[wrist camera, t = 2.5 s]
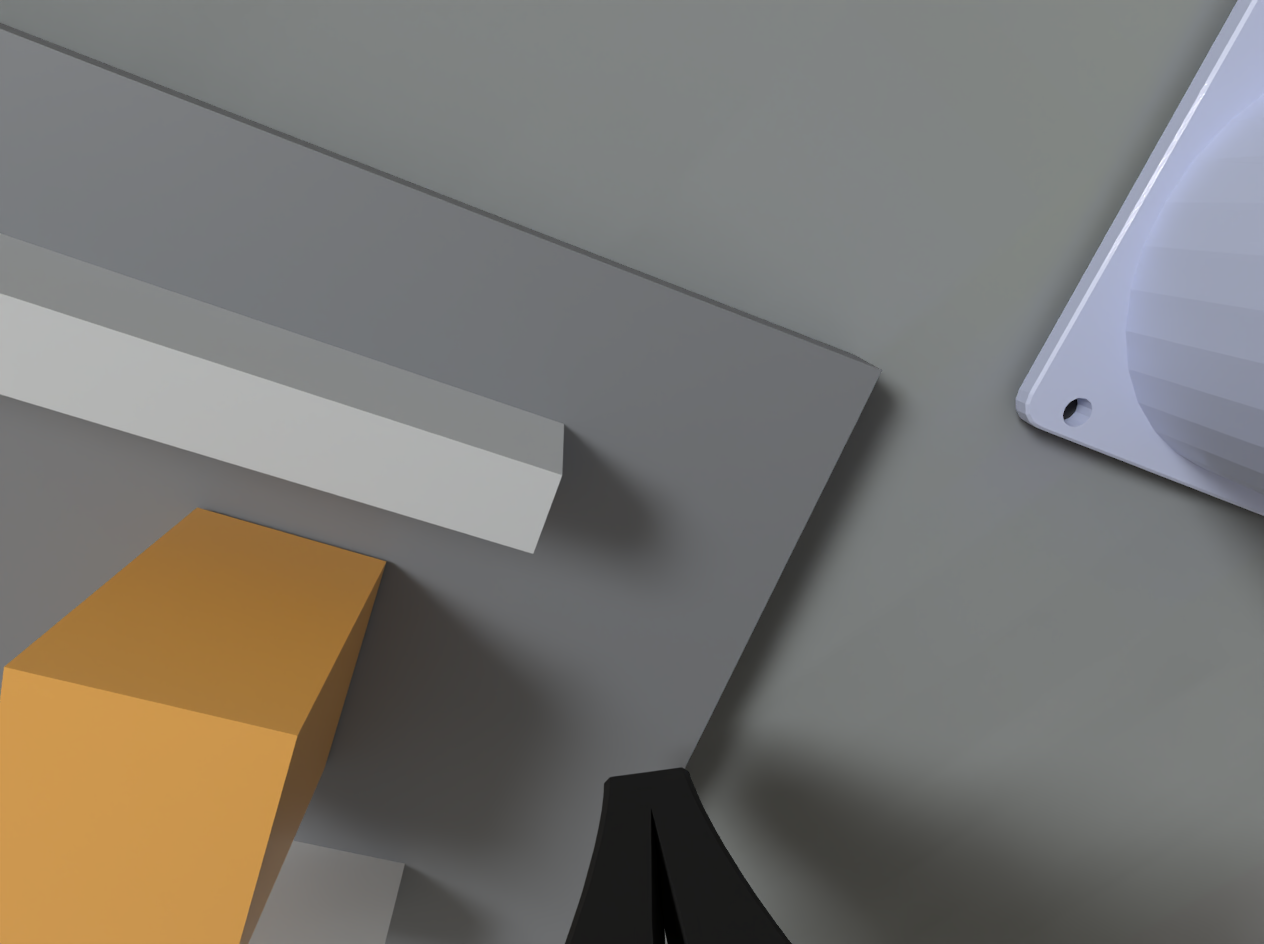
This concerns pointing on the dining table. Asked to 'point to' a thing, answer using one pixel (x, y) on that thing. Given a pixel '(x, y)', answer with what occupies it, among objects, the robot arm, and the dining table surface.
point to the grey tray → (398, 474)
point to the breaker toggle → (175, 736)
